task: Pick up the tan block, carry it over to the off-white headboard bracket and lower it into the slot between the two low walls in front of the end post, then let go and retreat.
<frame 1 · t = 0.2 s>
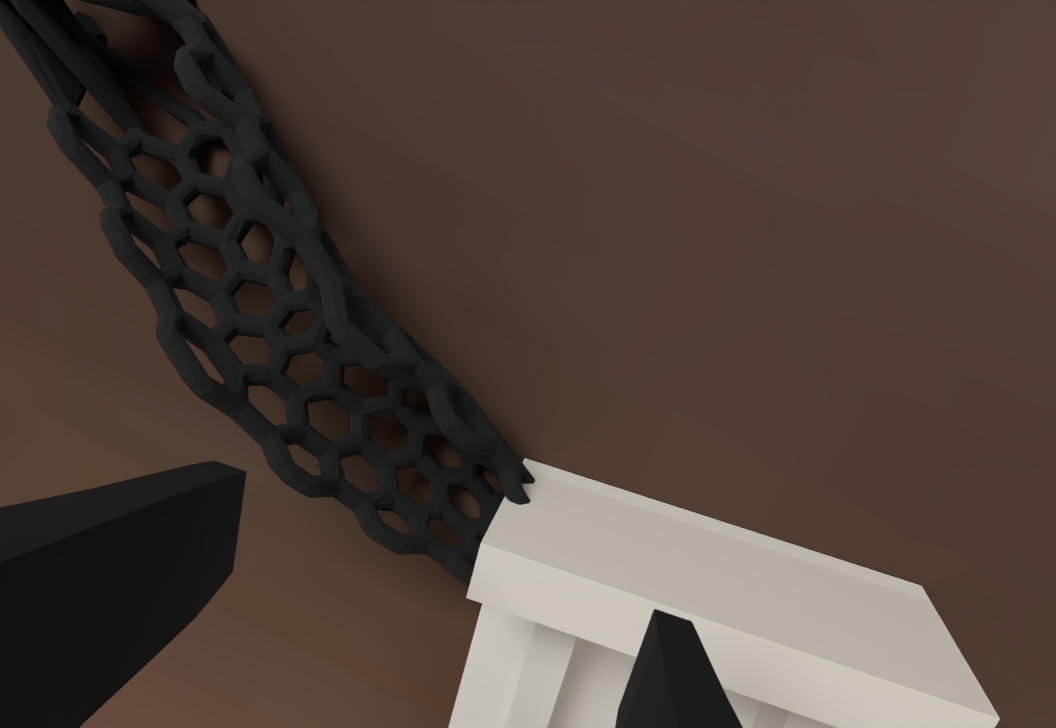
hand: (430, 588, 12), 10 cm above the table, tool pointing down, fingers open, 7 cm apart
decorative element: (315, 240, 22), on the table, touching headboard
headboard: (647, 702, 23), on the table
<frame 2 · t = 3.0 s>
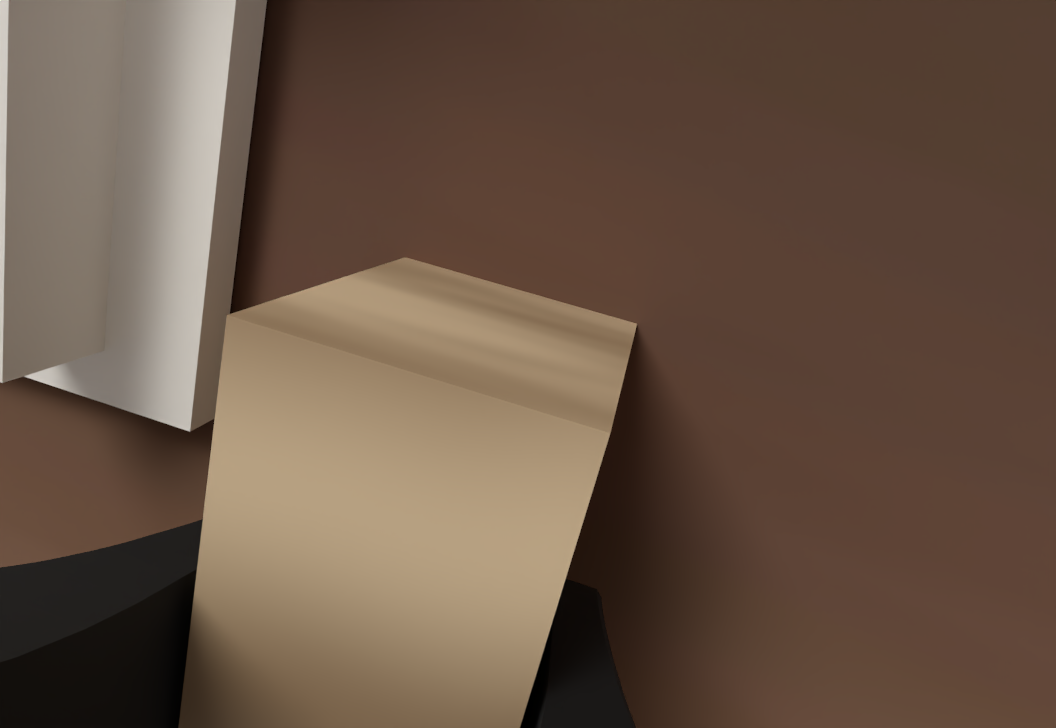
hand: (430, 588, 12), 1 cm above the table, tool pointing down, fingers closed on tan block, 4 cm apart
tan block: (455, 547, 13), on the table, touching gripper
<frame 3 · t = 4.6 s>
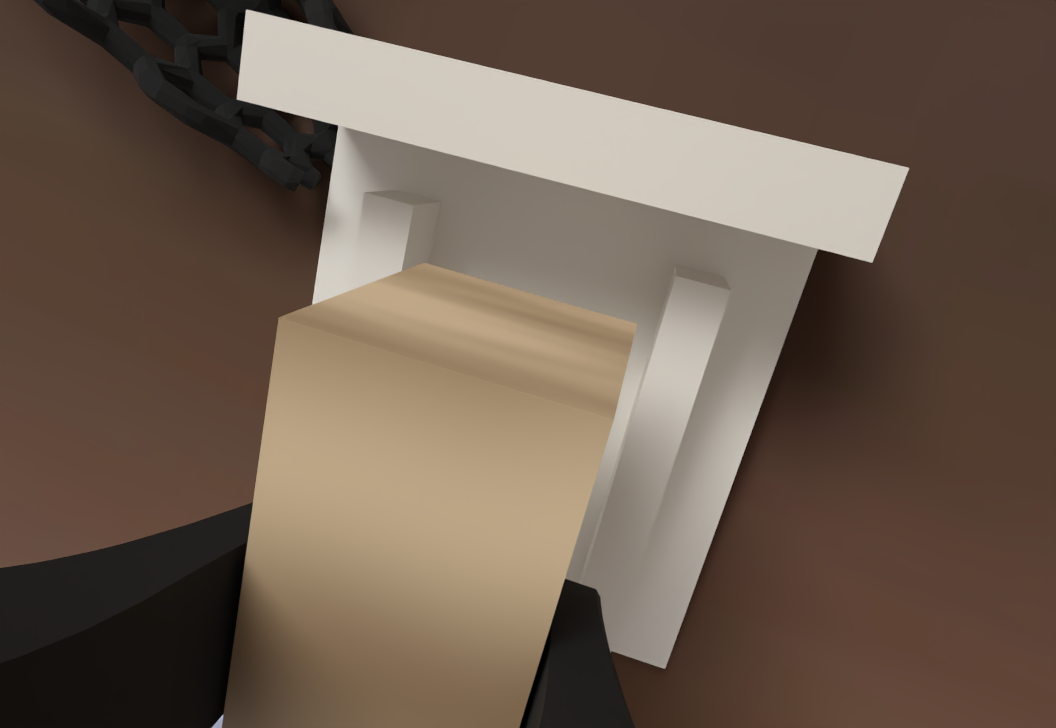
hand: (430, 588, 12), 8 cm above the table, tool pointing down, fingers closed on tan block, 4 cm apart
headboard: (525, 373, 19), on the table
tan block: (468, 530, 14), point 6 cm above the table, touching gripper
when the fingers open (4 cm above the table, at t = 6.3 s): tan block stays where it is, resting on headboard.
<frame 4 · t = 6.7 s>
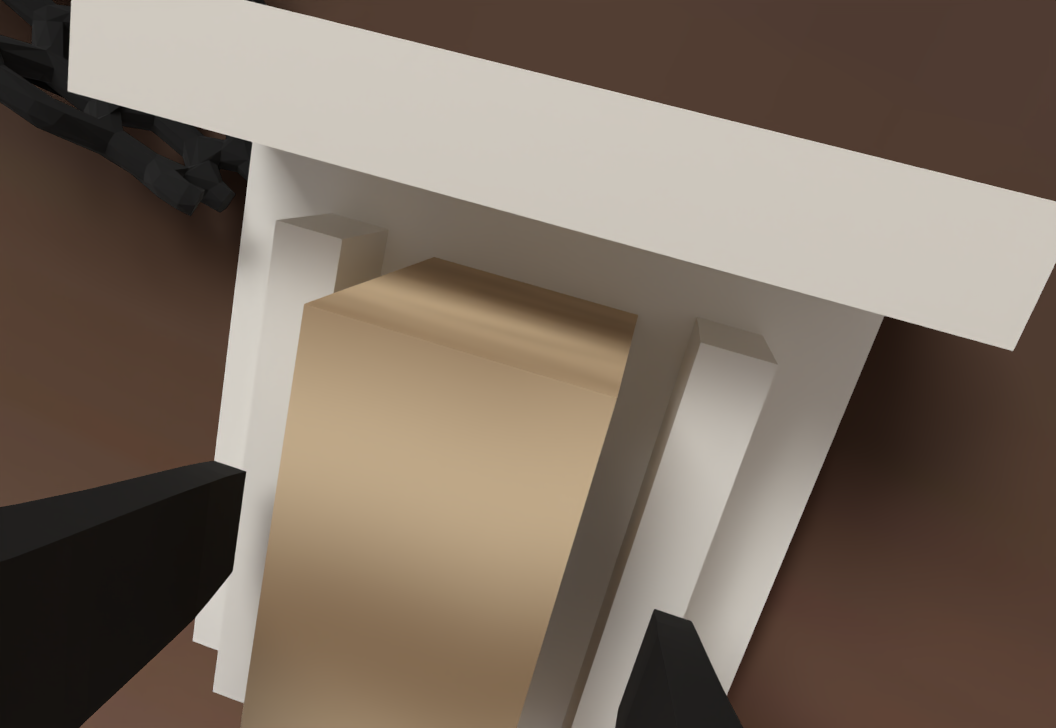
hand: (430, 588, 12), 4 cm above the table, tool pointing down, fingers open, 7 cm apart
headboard: (499, 447, 15), on the table
tan block: (476, 515, 15), point 1 cm above the table, touching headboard
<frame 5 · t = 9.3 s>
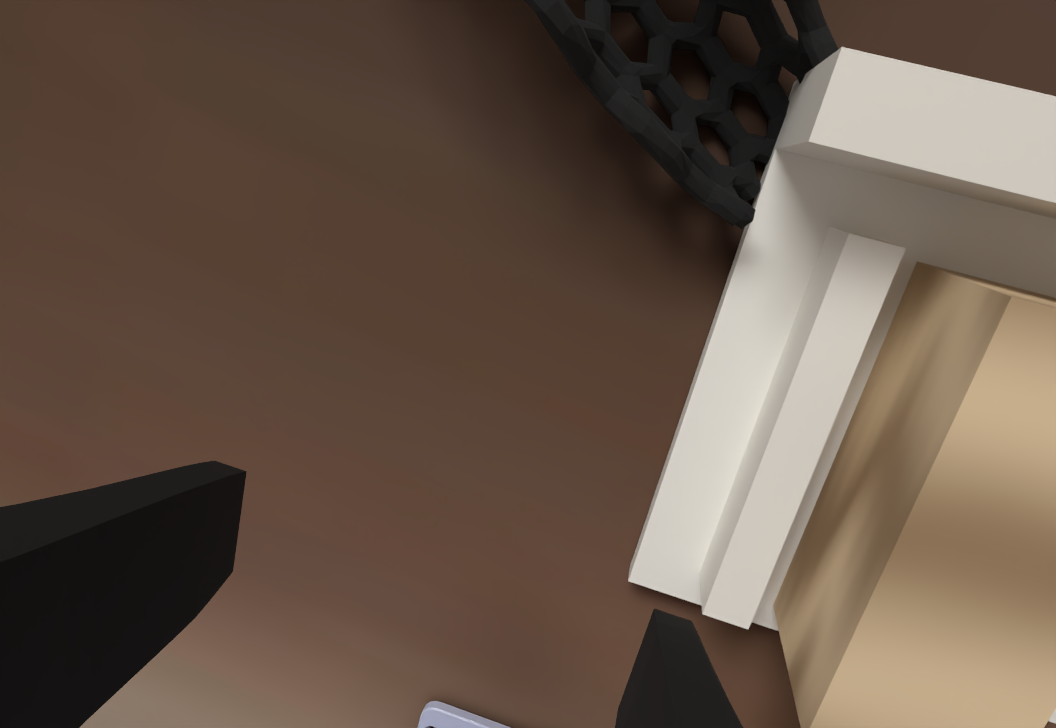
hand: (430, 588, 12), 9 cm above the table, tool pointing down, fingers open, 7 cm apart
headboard: (927, 416, 19), on the table
tan block: (917, 470, 18), point 1 cm above the table, touching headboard
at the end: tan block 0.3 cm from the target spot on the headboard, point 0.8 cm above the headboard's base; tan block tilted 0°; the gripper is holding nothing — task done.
